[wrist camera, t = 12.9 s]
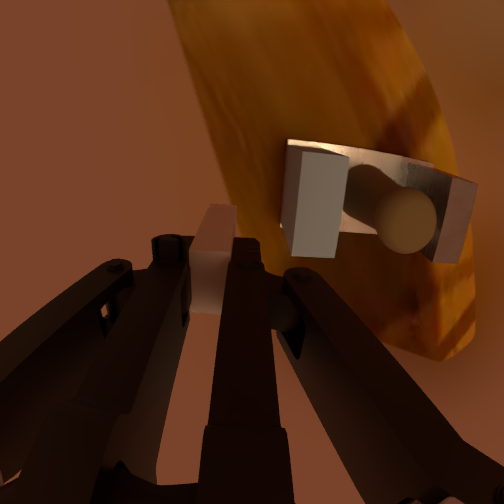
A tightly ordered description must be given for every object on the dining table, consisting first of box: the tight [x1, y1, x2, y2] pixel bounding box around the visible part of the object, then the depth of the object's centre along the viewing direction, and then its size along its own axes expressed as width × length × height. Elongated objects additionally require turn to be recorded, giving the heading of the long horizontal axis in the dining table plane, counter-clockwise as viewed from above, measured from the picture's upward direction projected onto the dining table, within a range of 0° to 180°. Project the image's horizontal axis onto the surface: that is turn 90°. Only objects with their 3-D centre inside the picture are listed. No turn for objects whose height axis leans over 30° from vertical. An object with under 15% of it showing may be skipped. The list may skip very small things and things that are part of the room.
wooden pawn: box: [343, 164, 437, 254], centre depth 24 cm, size 6×6×11 cm
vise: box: [279, 139, 477, 264], centre depth 26 cm, size 9×17×9 cm, turn 86°
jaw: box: [281, 145, 350, 258], centre depth 25 cm, size 8×4×8 cm, turn 177°
